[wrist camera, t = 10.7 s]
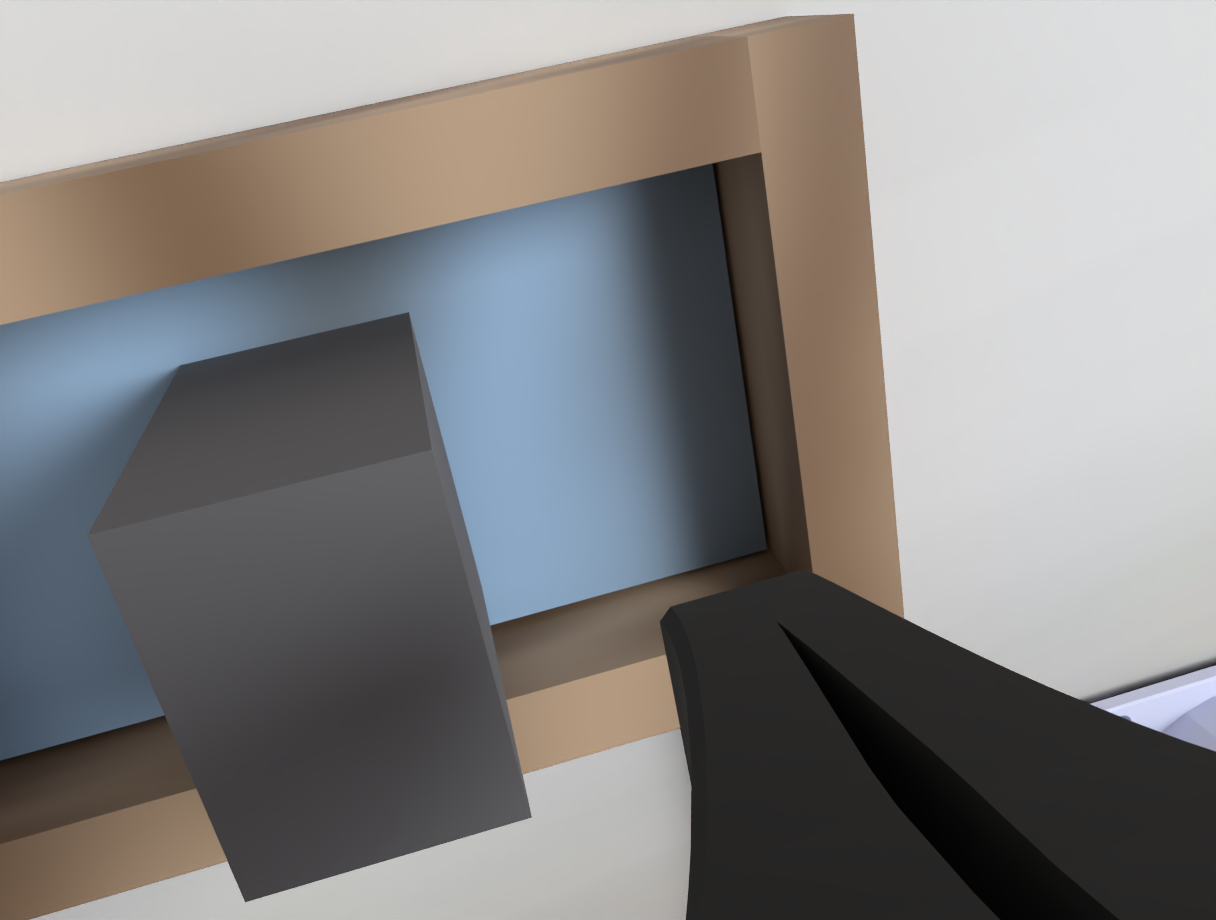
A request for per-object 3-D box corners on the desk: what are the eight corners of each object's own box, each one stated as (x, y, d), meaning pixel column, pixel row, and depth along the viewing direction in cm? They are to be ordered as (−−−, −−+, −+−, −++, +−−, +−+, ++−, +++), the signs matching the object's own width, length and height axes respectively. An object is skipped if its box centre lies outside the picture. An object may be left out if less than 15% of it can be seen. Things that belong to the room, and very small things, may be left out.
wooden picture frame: (785, 16, 16) (853, 14, 14) (883, 925, 24) (937, 1018, 22) (-397, 266, 14) (-540, 310, 12) (127, 1172, 22) (100, 1302, 20)
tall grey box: (409, 311, 16) (431, 449, 11) (481, 586, 18) (532, 817, 13) (180, 365, 16) (87, 536, 11) (280, 640, 18) (245, 901, 13)
